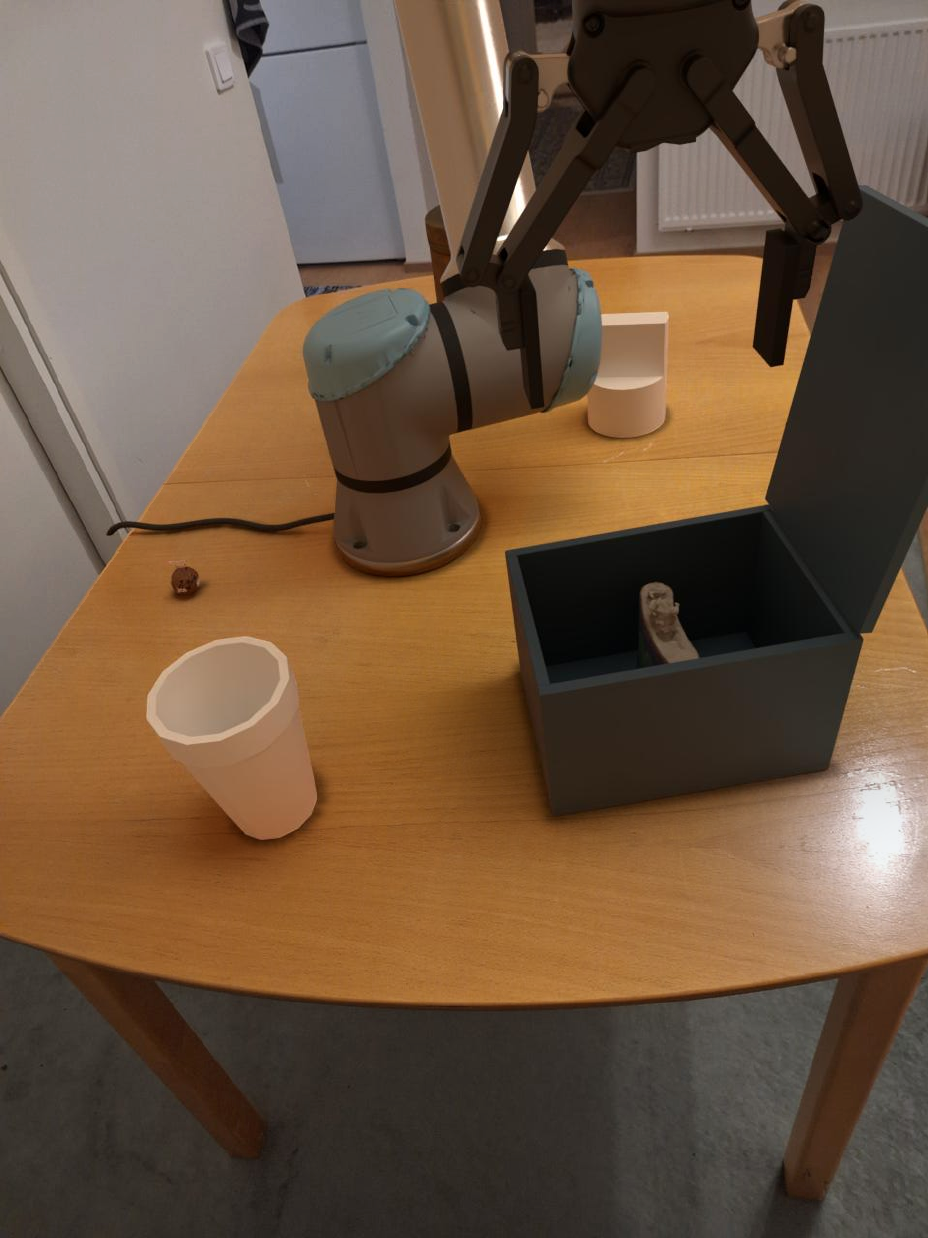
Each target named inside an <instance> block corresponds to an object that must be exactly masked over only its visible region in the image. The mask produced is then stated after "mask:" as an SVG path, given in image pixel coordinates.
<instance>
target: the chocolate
mask: <svg viewBox="0 0 928 1238" xmlns="http://www.w3.org/2000/svg"><path fill="white" fill-rule="evenodd" d="M186 562H187V559H186V558H184V559H183V560H174V561H171V560H170V561H168V564H170V565H171V566H172V567H175V569H174V571H173V572H172V573H171V580H170V586H171V589H173V591H174V592H176V593H178V594H182V595H189V594H193V593H194V592H196V591H197V590H198V589H199V586H200V584H201V578H200V575H199V572H198V571H197V570H196V569H195V568H193V567H191V566H187V563H186ZM181 564H182V565H181Z"/></svg>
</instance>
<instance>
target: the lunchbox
mask: <svg viewBox="0 0 928 1238" xmlns="http://www.w3.org/2000/svg"><path fill="white" fill-rule="evenodd" d="M504 555H505V564H506V565H505V566H506V571H507V579H508V586H509V594H510V603H511V608H512V609H511V610H512V618H513V624H514V633H515V640H516V648H517V655H518V662H519V663H518V664H519V671H520V675H521V681H522V684H523V689H524V692H525V693H524V695H525V698H526V702H527V706H528V707H527V708H528V710H529V715H530V720H531V724H532V730H533V734H534V738H535V743H536V747H537V752H538V755H539V760H540V765H541V769H542V773H543V779H544V782H545V788H546V791H547V797H548V800H549V805H550V809H551V814H552V817H558V816H559V817H560V816H566V815H571V814H576V813H583V812H589V811H593V810H594V811H595V810H600V809H605V808H611V807H617V806H623V805H628V804H636V803H641V802H647V801H653V800H659V799H665V798H670V797H676V796H681V795H687V794H693V793H700V792H703V791H710V790H717V789H722V788H728V787H734V786H735V787H736V786H741V785H745V784H752V783H757V782H758V783H759V782H763V781H769V780H774V779H775V780H776V779H780V778H787V777H791V776H792V777H793V776H798V775H804V774H809V773H813V772H814V773H815V772H821V771H828V770H829V769H830V765H831V761H832V759H833V758H832V757H833V754H834V750H835V746H836V743H837V739H838V736H839V732H840V729H841V724H842V720H843V717H844V714H845V710H846V706H847V702H848V699H849V695H850V693H851V689H852V688H851V687H852V684H853V681H854V677H855V673H856V671H857V666H858V663H859V659H860V656H861V651H862V647H863V644H864V637H863V636H862V634H859V632H858V631H857V630H856V628H855V627H854V625H853V624H852V622H851V621H850V620H849V618H848V617H847V615H846V614H845V612H844V611H843V610H842V608H841V607H840V605H839V604H838V602H837V601H836V600H835V598H834V597H833V595H832V594H831V592H830V591H829V590H828V588H827V587H826V585H825V584H824V582H823V581H822V580H821V578H820V577H819V575H818V574H817V572H816V571H815V570H814V568H813V567H812V565H811V564H810V562H809V561H808V560H807V558H806V557H805V555H804V554H803V553H802V551H801V550H800V548H799V547H798V545H797V544H796V543H795V541H794V540H793V538H792V537H791V535H790V534H789V533H788V531H787V530H786V528H785V527H784V525H783V524H782V523H781V521H780V520H779V518H778V517H777V515H776V514H775V513H774V511H773V510H772V508H771V507H770V505H769V504H768V503H767V504H762V505H756V506H751V507H744V508H740V509H739V508H738V509H734V510H729V511H722V512H717V513H712V514H706V515H700V516H694V517H687V518H683V519H677V520H672V521H665V522H660V523H654V524H648V525H643V526H642V525H641V526H637V527H632V528H626V529H619V530H615V531H609V532H604V533H598V534H592V535H586V536H580V537H574V538H569V539H564V540H558V541H551V542H547V543H541V544H535V545H529V546H523V547H519V548H512V549H507V550H505V551H504ZM654 582H659V583H663V584H664V585H667V586H669V587H670V588H671V589H672V592H673V598H674V607H675V603H678V604H679V613H678V614H677V616H678V620H679V622H680V624H681V626H682V628H683V629H684V632H685V634H686V636H687V638H688V640H689V641H690V642H691V643H692V645H693V646H694V648H695V649H696V650H697V651H698V653H699V657H700V658H697V659H691V660H686V661H680V662H674V663H668V664H663V665H657V666H651V667H645V668H640V669H636V668H637V658H638V628H639V593H640V591H641V588H642V587H643V586H645V585H647V584H649V583H654Z"/></svg>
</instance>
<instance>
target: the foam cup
mask: <svg viewBox="0 0 928 1238" xmlns="http://www.w3.org/2000/svg"><path fill="white" fill-rule="evenodd" d="M292 669H293V668H292V666H291V664H290V662H289V660H288V657H287V655H285V654H284V653H283V652H282V650H280V649H279V648H278V647H277V646H276V645H275V644H274V643H273V642H272V641H268V640H264V639H259V638H257V637H252V636H248V635H244V636H236V637H235V636H234V637H228V638H227V637H226V638H219V639H215V640H212V641H210V642H208V643H205V644H203V645H200V646H198V647H196V648H193V649H192V650H189V651H187V652H185V653H184V654H183V655H182V656H180V657H179V658H177V660H175V661H174V662H172V663H171V664H170V665H169V666H167V667H166V668H165V669H164V670H162V672H161V673H160V675H159V676H158V678H157V680H156V681H155V683H154V684H153V686H152V688H151V689H150V691H149V692H148V694H147V697H146V698H147V699H146V715H145V717H146V720H147V722H148V724H149V726H150V728H151V729H152V731H153V732H154V734H155V735H156V737H157V738H158V741H159V742H160V743H161V744H162V746H163V748H164V749H165V750H166V751H167V752H168V754H169V755H170V756H171V758H172V759H173V760H174V761H176V762H179V763H180V764H182V766H183V767H184V768H185V769H186V770H187V771H188V773H190V775H191V776H192V777H193V778H194V779H195V780H196V782H197V783H198V784H199V785H200V786H201V787H202V788H203V789H204V790H205V791H206V792H207V794H208V795H209V796H210V797H211V798H212V799H213V800H214V801H215V803H216V804H217V805H218V806H219V807H220V809H222V811H223V812H224V813H225V814H226V815H227V816H228V817H229V819H231V821H232V822H233V823H234V824H235V825H236V826H237V827H238V829H240V830H241V831H242V832H243V833H244V835H245V836H249V837H252V838H254V839H257V840H260V841H263V840H273V839H280V838H282V837H284V836H287V835H288V834H290V833H292V832H295V831H296V830H299V828H301V826H302V825H303V824H304V823H305V822H306V821H307V820H308V819H309V818H310V817H311V816H312V815H313V812H314V809H315V806H316V804H317V801H318V794H317V788H316V787H317V786H316V781H315V780H316V779H315V776H314V771H313V767H312V762H311V761H312V760H311V757H310V753H309V747H308V743H307V742H308V741H307V739H306V734H305V729H304V725H303V720H302V716H301V715H302V714H301V711H300V706H299V705H300V698H299V690H298V684H297V683H298V682H297V679H296V676H295V674H294V672H293V670H292Z"/></svg>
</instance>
